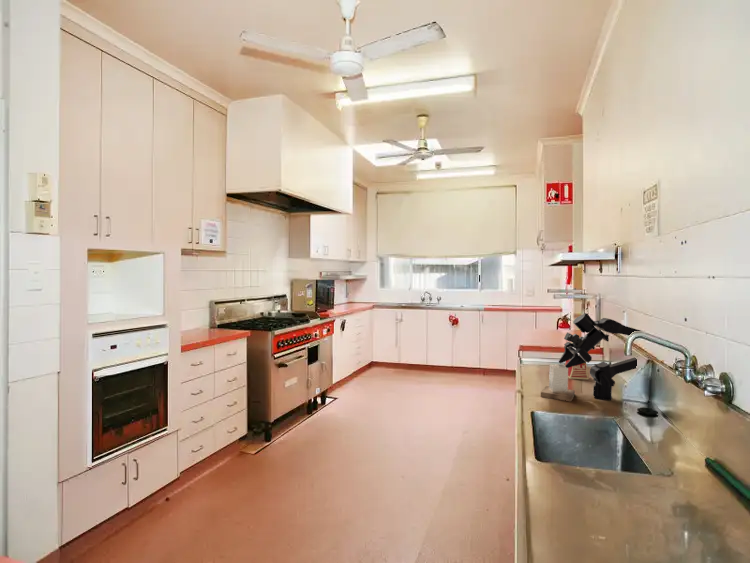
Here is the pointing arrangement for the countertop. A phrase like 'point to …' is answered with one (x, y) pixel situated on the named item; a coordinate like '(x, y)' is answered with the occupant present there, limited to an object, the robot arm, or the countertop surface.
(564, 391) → the cream tea tin
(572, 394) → the walnut block
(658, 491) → the countertop surface
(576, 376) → the milk carton
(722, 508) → the countertop surface
